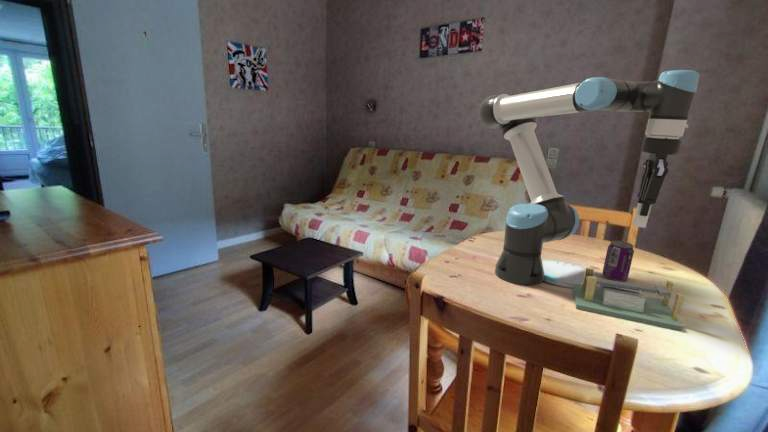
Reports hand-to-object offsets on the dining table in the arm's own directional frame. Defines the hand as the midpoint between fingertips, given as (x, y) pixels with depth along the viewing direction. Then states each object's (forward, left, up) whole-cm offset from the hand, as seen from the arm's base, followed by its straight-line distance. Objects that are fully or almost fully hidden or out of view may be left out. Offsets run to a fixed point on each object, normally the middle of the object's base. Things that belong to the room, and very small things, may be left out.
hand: (638, 226), depth 93 cm
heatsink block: (-1, -4, -21) cm, 22 cm away
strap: (-1, -4, -17) cm, 17 cm away
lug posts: (0, -3, -21) cm, 22 cm away
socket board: (-1, -4, -23) cm, 23 cm away
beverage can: (+1, +17, -23) cm, 29 cm away
